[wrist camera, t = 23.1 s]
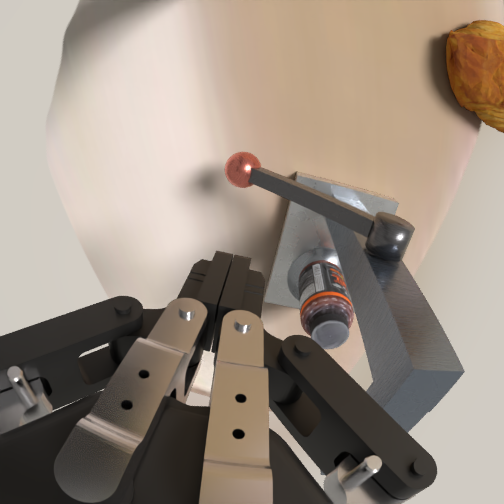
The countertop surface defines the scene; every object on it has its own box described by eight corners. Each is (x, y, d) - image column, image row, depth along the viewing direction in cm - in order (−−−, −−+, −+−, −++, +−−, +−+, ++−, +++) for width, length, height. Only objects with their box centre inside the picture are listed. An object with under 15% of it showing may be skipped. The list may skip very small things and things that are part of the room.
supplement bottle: (351, 278, 40) (370, 335, 30) (317, 303, 42) (325, 364, 32) (322, 249, 38) (336, 304, 28) (288, 277, 40) (289, 337, 30)
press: (264, 293, 44) (245, 484, 20) (296, 171, 36) (330, 337, 11) (348, 309, 45) (385, 487, 20) (393, 198, 36) (524, 356, 11)
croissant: (506, 44, 25) (538, 35, 17) (512, 139, 30) (548, 143, 22) (431, 10, 25) (460, -10, 18) (437, 115, 30) (473, 112, 23)
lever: (239, 179, 33) (214, 182, 30) (245, 147, 31) (220, 148, 29) (404, 259, 23) (392, 273, 21) (420, 220, 21) (411, 228, 19)
